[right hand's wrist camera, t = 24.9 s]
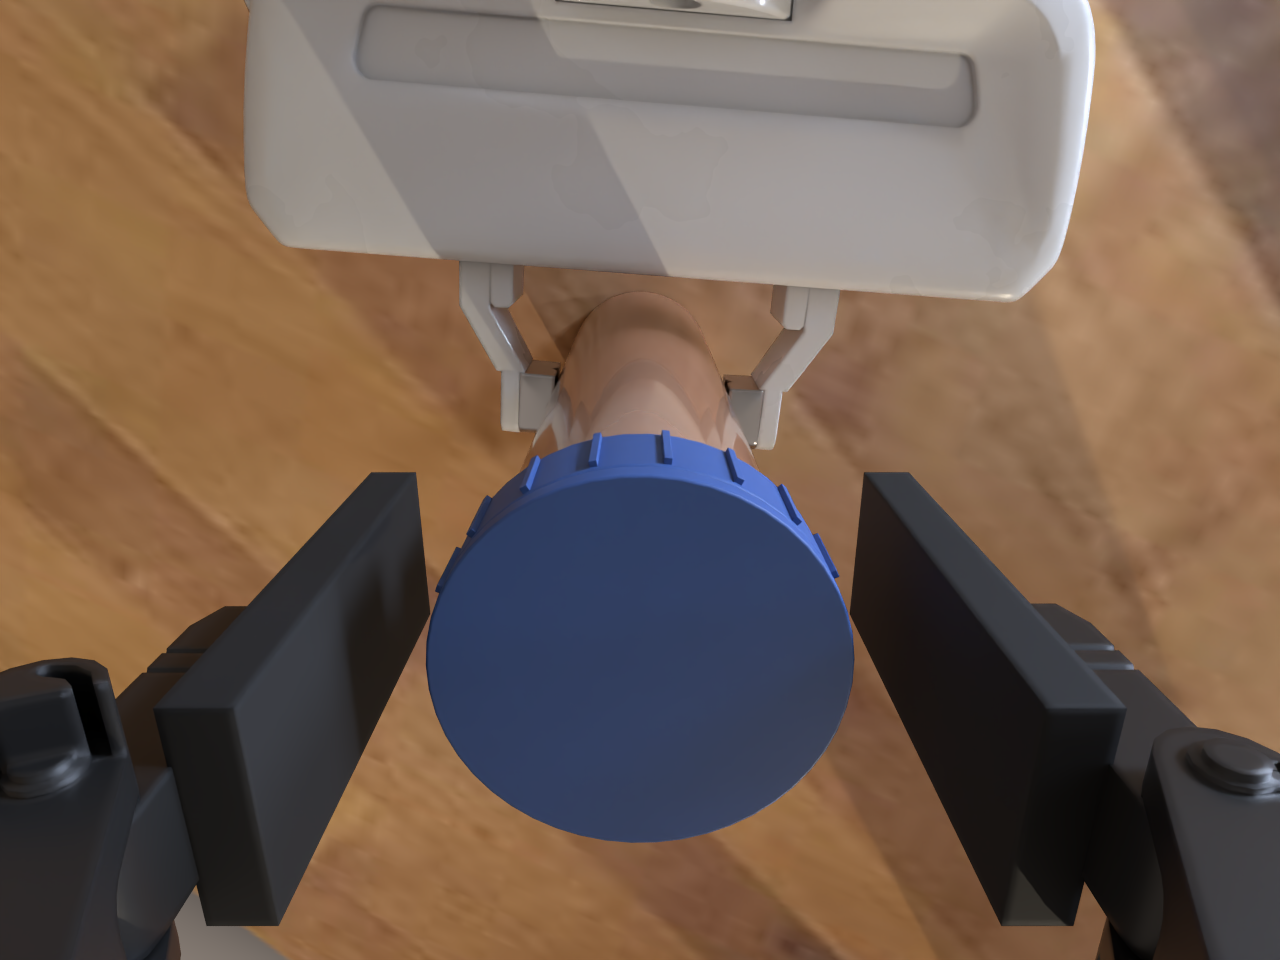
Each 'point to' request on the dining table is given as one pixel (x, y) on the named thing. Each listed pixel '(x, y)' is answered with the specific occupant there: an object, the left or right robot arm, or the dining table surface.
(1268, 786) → the right robot arm
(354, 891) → the dining table surface
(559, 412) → the jar
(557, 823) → the lid
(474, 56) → the left robot arm
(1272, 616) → the dining table surface
